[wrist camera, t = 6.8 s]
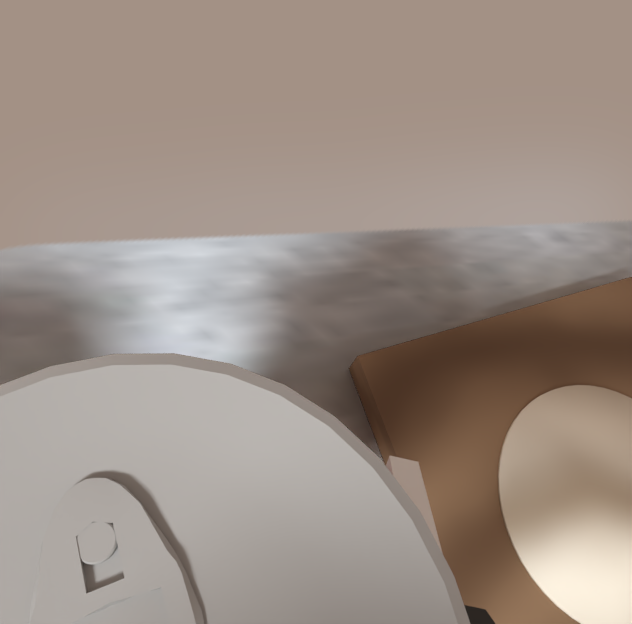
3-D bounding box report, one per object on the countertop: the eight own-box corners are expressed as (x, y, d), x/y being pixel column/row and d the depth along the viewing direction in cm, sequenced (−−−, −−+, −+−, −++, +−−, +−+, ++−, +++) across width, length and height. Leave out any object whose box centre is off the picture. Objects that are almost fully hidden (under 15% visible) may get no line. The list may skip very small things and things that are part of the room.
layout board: (833, 649, 23) (888, 660, 21) (530, 849, 19) (566, 887, 17) (612, 290, 30) (639, 273, 28) (348, 368, 25) (358, 354, 23)
